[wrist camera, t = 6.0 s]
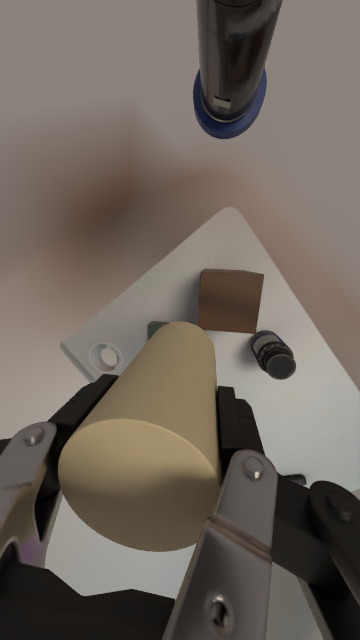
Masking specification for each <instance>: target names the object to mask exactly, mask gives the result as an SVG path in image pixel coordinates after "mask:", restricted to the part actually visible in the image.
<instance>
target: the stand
mask: <svg viewBox="0 0 360 640" xmlns="http://www.w3.org/2000/svg"><path fill="white" fill-rule="evenodd" d="M263 279H264V274H259V273H254V272H249V271H244V270H222V269H204V270H203V271H201V282H200V297H199V312H198V327H200V328H201V329H203V330H214V331H226V332H238V333H251V334H256V327H257V320H258V313H259V306H260V299H261V293H262V286H263Z"/></svg>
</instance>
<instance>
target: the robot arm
mask: <svg viewBox="0 0 360 640" xmlns="http://www.w3.org/2000/svg"><path fill="white" fill-rule="evenodd" d="M196 1H197V21H198V40H199V60H200V81H201V88H200V93H201V102H202V106H203V108H204V111H205V112H206V114H207V115H208V116H209V117H210V118H211V119H212V120H213V121H215V122H217V123H221V124H230V123H234V122H236V121H238V120H240V119H241V118H243V117H244V116H245V115H246V114H247V113H248V112H249V110H250V109H251V107H252V106H253V104H254V102H255V99H256V97H257V93H258V89H259V83H260V80H261V76H262V73H263V69H264V66H265V62H266V58H267V55H268V51H269V47H270V44H271V40H272V36H273V33H274V29H275V26H276V22H277V18H278V14H279V11H280V7H281V4H282V0H196ZM118 378H119V376H118V375H110V374H103V375H102V376H101V377H100V378H99V379H98V380H97V381H96V382H95V383H90V384H88V385H87V386H84V387H83V388H81V389H80V390H79V391H78V392H77V393H76V394H75V396H73V397H72V398H71V399H70V400H69V402H67V403H66V404H65V405H64V406H63V407H62V408H61V409H59V410H58V411H57V412H56V413H55V414H54V415H53V416H52V417H51V418H50V419H49V420H48V421H47V422H39V423H35V424H32V425H29V426H27V427H26V428H23V429H22V430H20V431H19V432H18V433H17V434H16V435H14V437H13V438H10V439H2V440H0V640H265V639H266V628H267V617H268V605H269V593H270V581H271V569H272V561H273V562H275V563H276V564H278V565H280V566H281V567H283V568H284V569H286V570H288V571H289V572H291V573H293V574H294V575H296V577H297V579H298V582H299V584H300V586H301V588H302V591H303V593H304V595H305V598H306V600H307V602H308V605H309V607H310V609H311V611H312V614H313V616H314V618H315V621H316V623H317V625H318V628H319V630H320V632H321V634H322V637H323V639H324V640H360V500H358V499H357V498H356V497H355V496H354V495H353V494H352V493H351V492H349V491H348V490H346V489H345V488H343V487H341V486H339V485H337V484H335V483H332V482H329V481H316V482H314V483H313V484H312V485H311V486H310V489H309V488H306V487H304V486H302V485H299V484H297V483H295V482H292V481H290V480H288V479H286V478H285V477H283V476H282V475H280V474H279V473H278V472H277V471H276V469H275V467H274V465H273V464H272V463H271V461H270V460H269V459H268V458H266V456H265V453H264V450H263V446H262V443H261V439H260V436H259V432H258V429H257V425H256V422H255V418H254V415H253V411H252V408H251V406H250V405H249V404H248V403H247V402H246V401H245V399H236V398H235V393H234V388H233V387H225V386H218V389H217V402H218V421H219V440H220V459H221V471H222V487H221V490H220V493H219V496H218V498H217V501H216V504H215V507H214V510H213V513H212V515H211V517H209V516H208V517H207V519H206V521H205V523H204V525H203V528H202V531H201V533H200V536H199V539H198V542H197V544H196V547H195V550H194V552H193V555H192V558H191V561H190V563H189V566H188V569H187V572H186V574H185V577H184V580H183V583H182V585H181V588H180V591H179V594H178V596H177V599H176V602H175V599H172V598H169V597H164V596H160V595H156V594H151V593H147V592H143V591H138V590H134V589H129V590H122V591H116V592H110V593H104V594H97V595H92V596H81V595H80V594H78V593H77V592H76V591H75V590H73V589H72V588H71V587H70V586H69V585H67V584H66V583H65V582H64V581H62V580H61V579H60V578H59V577H58V576H56V575H55V574H54V573H53V572H51V571H50V570H49V569H45V558H46V552H47V547H48V544H49V540H50V537H51V533H52V530H53V527H54V523H55V520H56V516H57V513H58V510H59V506H60V503H61V499H62V496H63V492H62V490H61V487H60V483H59V479H58V462H59V458H60V454H61V452H62V450H63V447H64V445H65V444H66V442H67V441H68V440H69V438H70V437H71V436H72V435H73V433H74V432H75V431H76V430H77V428H78V427H79V426H80V425H81V423H82V422H83V421H84V420H85V419H86V417H87V416H88V415H89V414H90V412H91V411H92V410H93V409H94V407H95V406H96V405H97V404H98V402H99V401H100V400H101V399H102V398H103V396H104V395H105V394H106V393H107V391H108V390H109V389H110V388H111V386H112V385H113V384H114V383H115V381H116V380H117V379H118Z"/></svg>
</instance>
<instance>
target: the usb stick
mask: <svg viewBox="0 0 360 640" xmlns="http://www.w3.org/2000/svg"><path fill="white" fill-rule="evenodd" d="M285 478H286V479H288V480H290V481H292V482H295V483H297V484H299V485H305V484H307V483H306V479H305V476H303V475H299V476H287V477H285Z"/></svg>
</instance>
